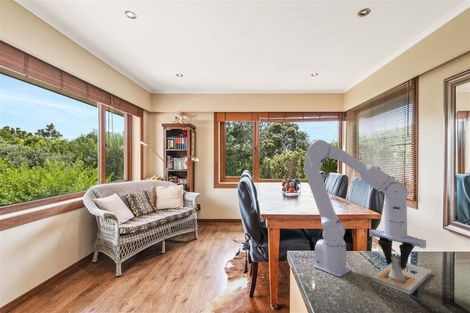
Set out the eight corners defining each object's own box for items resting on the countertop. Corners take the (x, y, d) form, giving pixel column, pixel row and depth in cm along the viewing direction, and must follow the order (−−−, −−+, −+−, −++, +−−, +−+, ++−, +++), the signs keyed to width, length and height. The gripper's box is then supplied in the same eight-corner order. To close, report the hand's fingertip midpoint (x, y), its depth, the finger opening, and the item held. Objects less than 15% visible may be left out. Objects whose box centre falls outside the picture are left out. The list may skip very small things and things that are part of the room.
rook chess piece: (408, 286, 70) (407, 259, 71) (390, 284, 72) (390, 257, 72) (402, 279, 75) (402, 253, 75) (386, 277, 76) (385, 251, 76)
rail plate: (371, 280, 74) (371, 275, 74) (396, 263, 86) (395, 259, 86) (410, 294, 66) (410, 289, 66) (431, 273, 78) (431, 269, 78)
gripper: (429, 223, 70) (430, 270, 70) (375, 214, 82) (376, 254, 81) (421, 227, 66) (422, 277, 66) (366, 217, 77) (366, 260, 77)
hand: (396, 265), depth 73 cm, fingers closed on rook chess piece, 3 cm apart
